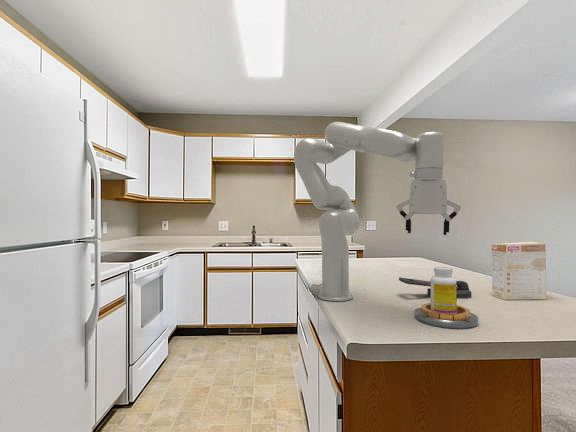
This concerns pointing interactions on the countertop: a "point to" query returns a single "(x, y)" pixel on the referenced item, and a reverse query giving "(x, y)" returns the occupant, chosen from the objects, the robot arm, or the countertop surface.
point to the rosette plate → (447, 318)
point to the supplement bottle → (443, 291)
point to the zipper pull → (461, 289)
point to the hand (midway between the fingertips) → (426, 234)
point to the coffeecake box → (519, 270)
